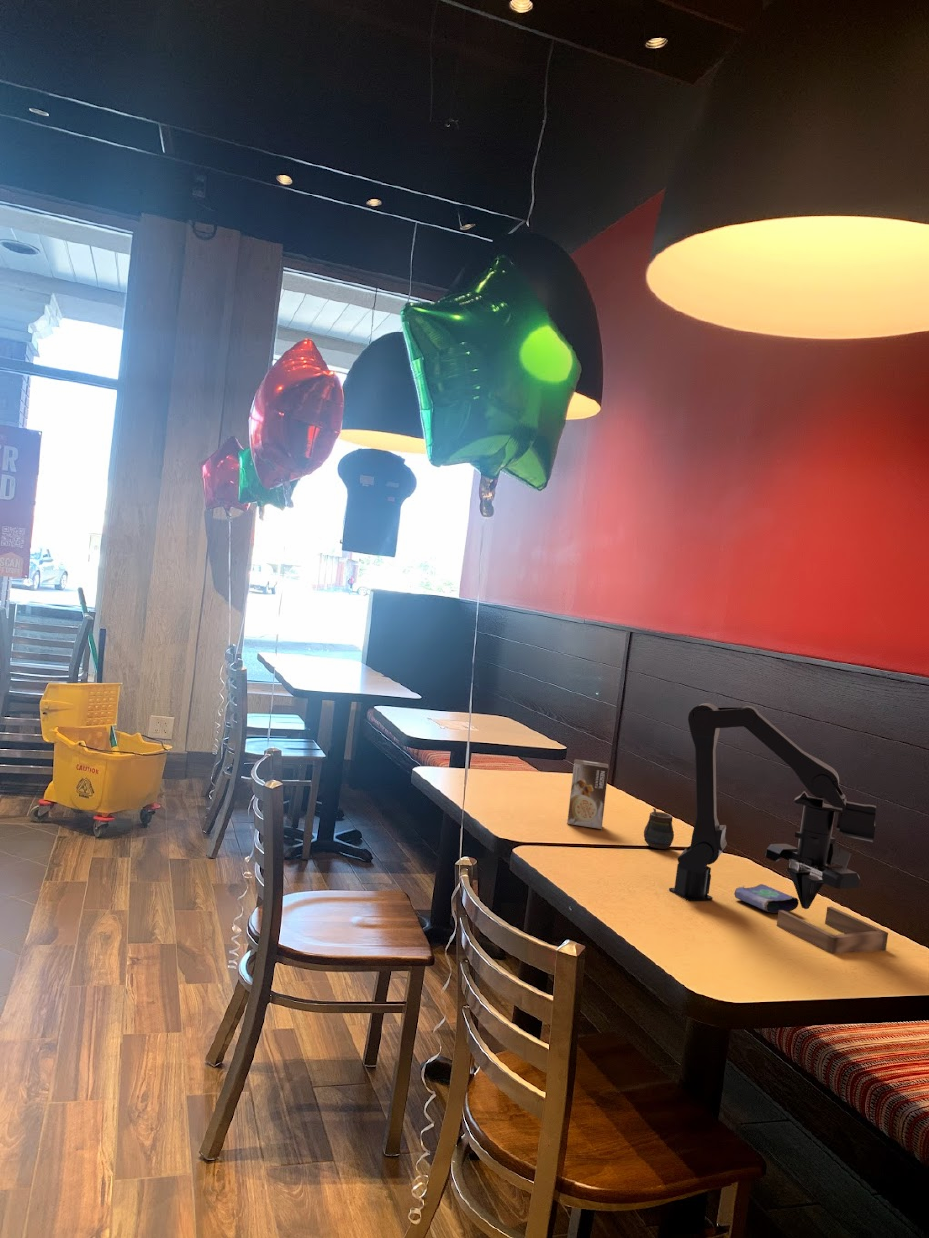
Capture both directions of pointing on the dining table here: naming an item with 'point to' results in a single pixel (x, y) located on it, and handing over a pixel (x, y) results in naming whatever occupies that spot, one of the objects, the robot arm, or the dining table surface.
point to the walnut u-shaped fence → (854, 939)
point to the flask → (767, 898)
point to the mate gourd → (659, 830)
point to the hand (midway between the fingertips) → (805, 908)
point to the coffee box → (588, 794)
